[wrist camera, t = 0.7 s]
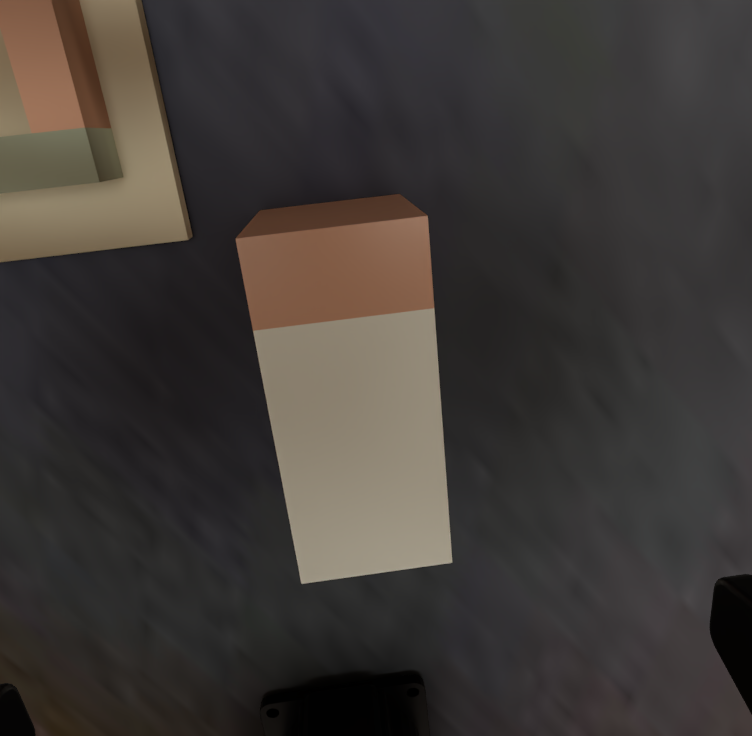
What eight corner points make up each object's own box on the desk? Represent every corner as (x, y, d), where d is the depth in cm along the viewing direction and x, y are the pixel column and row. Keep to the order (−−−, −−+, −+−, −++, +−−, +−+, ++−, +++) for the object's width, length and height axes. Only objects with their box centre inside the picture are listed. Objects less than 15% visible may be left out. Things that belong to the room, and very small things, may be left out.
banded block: (423, 465, 20) (452, 562, 16) (306, 480, 20) (301, 584, 16) (399, 193, 17) (427, 215, 12) (260, 210, 17) (235, 238, 12)
